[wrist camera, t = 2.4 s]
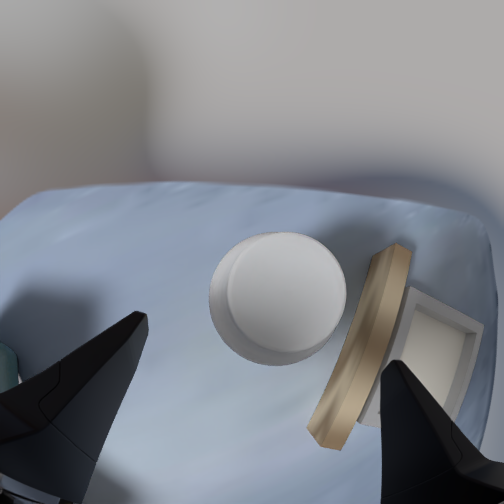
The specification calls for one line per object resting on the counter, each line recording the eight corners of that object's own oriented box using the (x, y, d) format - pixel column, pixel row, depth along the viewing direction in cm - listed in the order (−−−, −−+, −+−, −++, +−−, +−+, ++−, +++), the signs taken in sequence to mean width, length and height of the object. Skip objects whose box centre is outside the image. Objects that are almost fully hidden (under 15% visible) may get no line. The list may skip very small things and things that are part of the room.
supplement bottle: (260, 252, 19) (289, 178, 9) (315, 308, 18) (396, 289, 9) (201, 305, 18) (164, 285, 8) (258, 364, 17) (287, 411, 7)
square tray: (435, 430, 16) (448, 435, 14) (349, 416, 16) (360, 424, 15) (470, 326, 19) (484, 325, 17) (396, 289, 19) (410, 285, 17)
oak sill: (324, 432, 16) (340, 450, 13) (306, 428, 16) (320, 446, 13) (387, 263, 20) (412, 252, 16) (372, 255, 20) (395, 242, 16)
